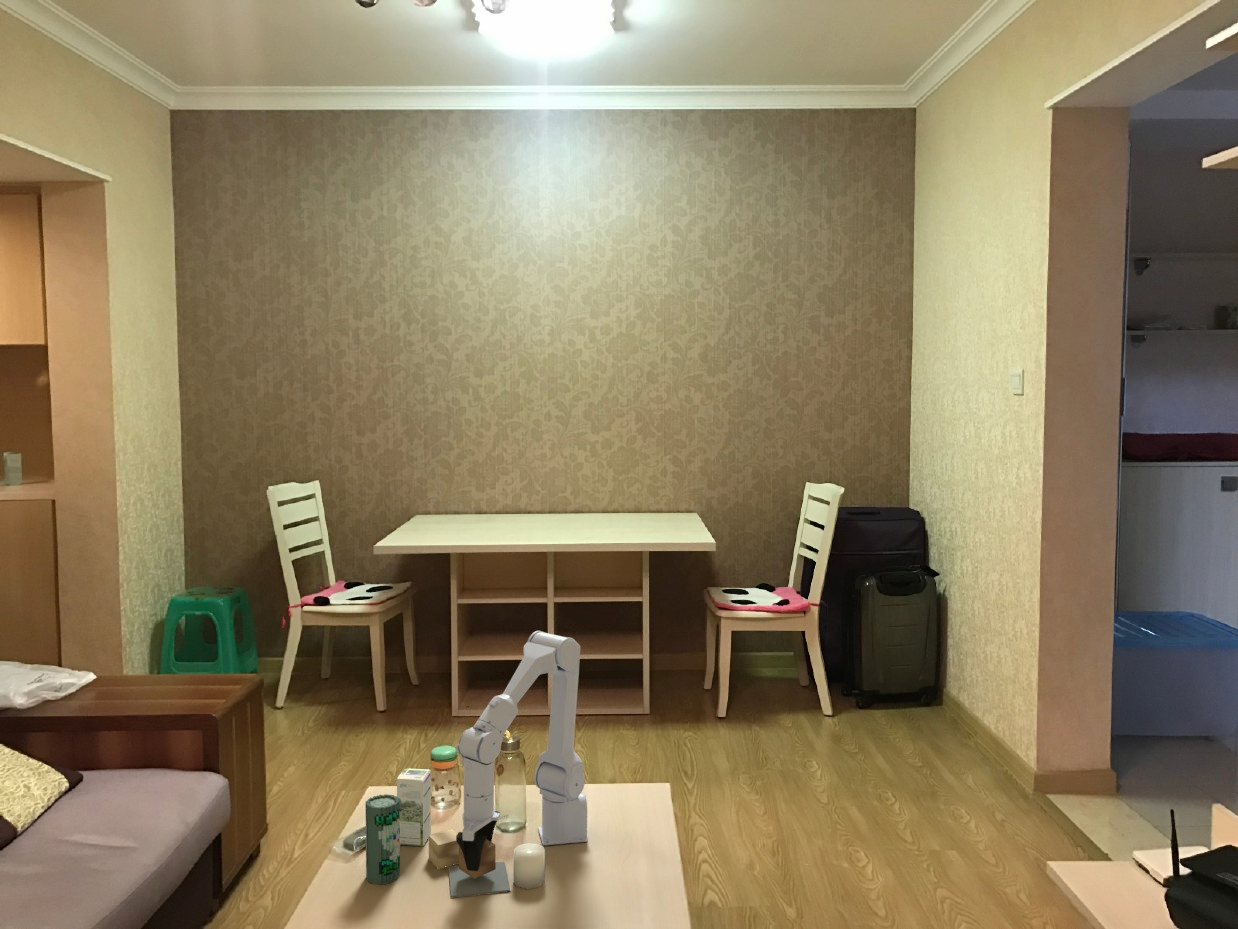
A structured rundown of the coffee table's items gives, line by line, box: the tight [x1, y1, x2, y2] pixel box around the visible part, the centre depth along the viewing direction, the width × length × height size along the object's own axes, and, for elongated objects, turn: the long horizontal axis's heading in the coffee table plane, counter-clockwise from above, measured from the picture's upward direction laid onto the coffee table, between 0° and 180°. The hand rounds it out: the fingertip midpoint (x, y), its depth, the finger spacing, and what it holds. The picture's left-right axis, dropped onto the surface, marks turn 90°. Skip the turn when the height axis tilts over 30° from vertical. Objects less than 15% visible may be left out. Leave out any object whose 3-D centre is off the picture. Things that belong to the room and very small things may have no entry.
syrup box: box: [396, 768, 432, 847], centre depth 199 cm, size 6×6×14 cm
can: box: [365, 793, 401, 886], centre depth 184 cm, size 6×6×15 cm
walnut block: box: [458, 839, 497, 879], centre depth 184 cm, size 5×5×5 cm
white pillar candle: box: [512, 842, 546, 890], centre depth 184 cm, size 6×6×6 cm
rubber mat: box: [448, 861, 511, 899], centre depth 184 cm, size 11×11×1 cm
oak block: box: [428, 828, 459, 870], centre depth 191 cm, size 5×5×5 cm
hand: (478, 860), depth 184 cm, fingers closed on walnut block, 7 cm apart
